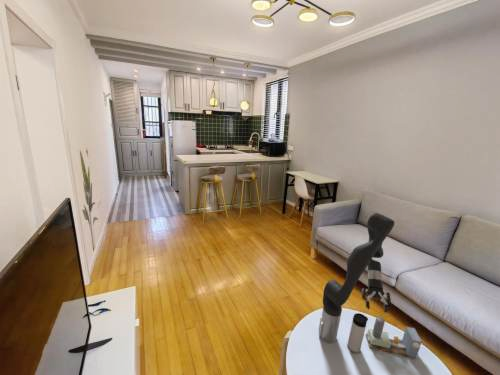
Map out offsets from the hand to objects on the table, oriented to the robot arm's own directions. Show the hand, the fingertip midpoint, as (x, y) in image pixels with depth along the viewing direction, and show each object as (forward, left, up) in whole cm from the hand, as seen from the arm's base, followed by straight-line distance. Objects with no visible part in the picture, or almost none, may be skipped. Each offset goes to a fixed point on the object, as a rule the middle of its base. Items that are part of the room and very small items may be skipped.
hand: (376, 310), depth 128 cm
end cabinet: (+17, -6, -14) cm, 23 cm away
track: (+8, -6, -16) cm, 18 cm away
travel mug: (-11, -12, -16) cm, 23 cm away
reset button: (+11, -6, -12) cm, 18 cm away
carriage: (+2, -6, -13) cm, 15 cm away
